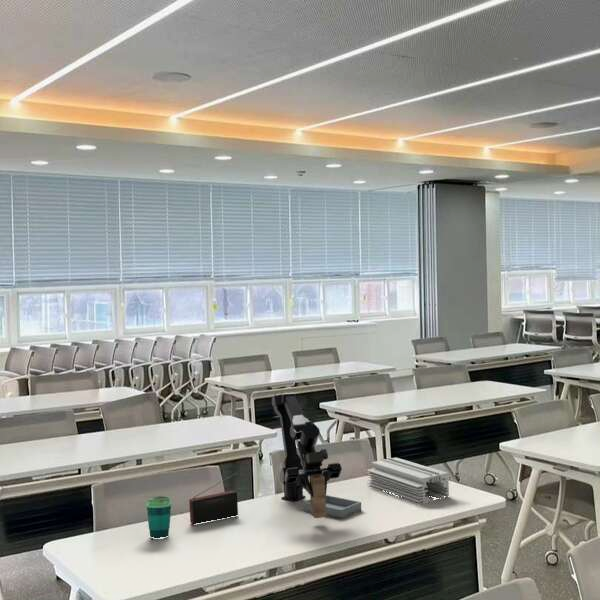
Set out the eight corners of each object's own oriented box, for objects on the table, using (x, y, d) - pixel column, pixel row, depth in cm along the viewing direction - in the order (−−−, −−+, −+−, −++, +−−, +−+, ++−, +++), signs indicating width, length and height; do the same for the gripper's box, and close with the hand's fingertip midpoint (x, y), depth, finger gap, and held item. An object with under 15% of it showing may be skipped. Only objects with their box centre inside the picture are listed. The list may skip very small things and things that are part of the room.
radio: (194, 526, 263) (191, 482, 262) (190, 524, 265) (188, 480, 265) (243, 515, 272) (241, 472, 272) (240, 513, 275) (237, 471, 274)
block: (311, 514, 260) (309, 475, 259) (322, 513, 261) (321, 474, 260) (314, 518, 256) (312, 478, 255) (326, 516, 257) (324, 477, 256)
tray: (303, 510, 274) (303, 502, 274) (323, 502, 283) (323, 494, 282) (341, 519, 263) (341, 510, 263) (361, 510, 271) (361, 502, 271)
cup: (142, 539, 252) (140, 502, 252) (156, 531, 260) (154, 495, 259) (164, 541, 249) (162, 503, 249) (177, 532, 257) (176, 496, 256)
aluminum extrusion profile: (417, 505, 275) (416, 477, 275) (367, 487, 302) (366, 461, 301) (449, 498, 282) (448, 470, 282) (397, 480, 309) (396, 455, 308)
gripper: (285, 444, 259) (295, 486, 249) (338, 438, 264) (351, 479, 253) (280, 462, 267) (290, 503, 256) (332, 456, 272) (344, 496, 261)
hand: (319, 495), depth 257 cm, fingers closed on block, 4 cm apart
